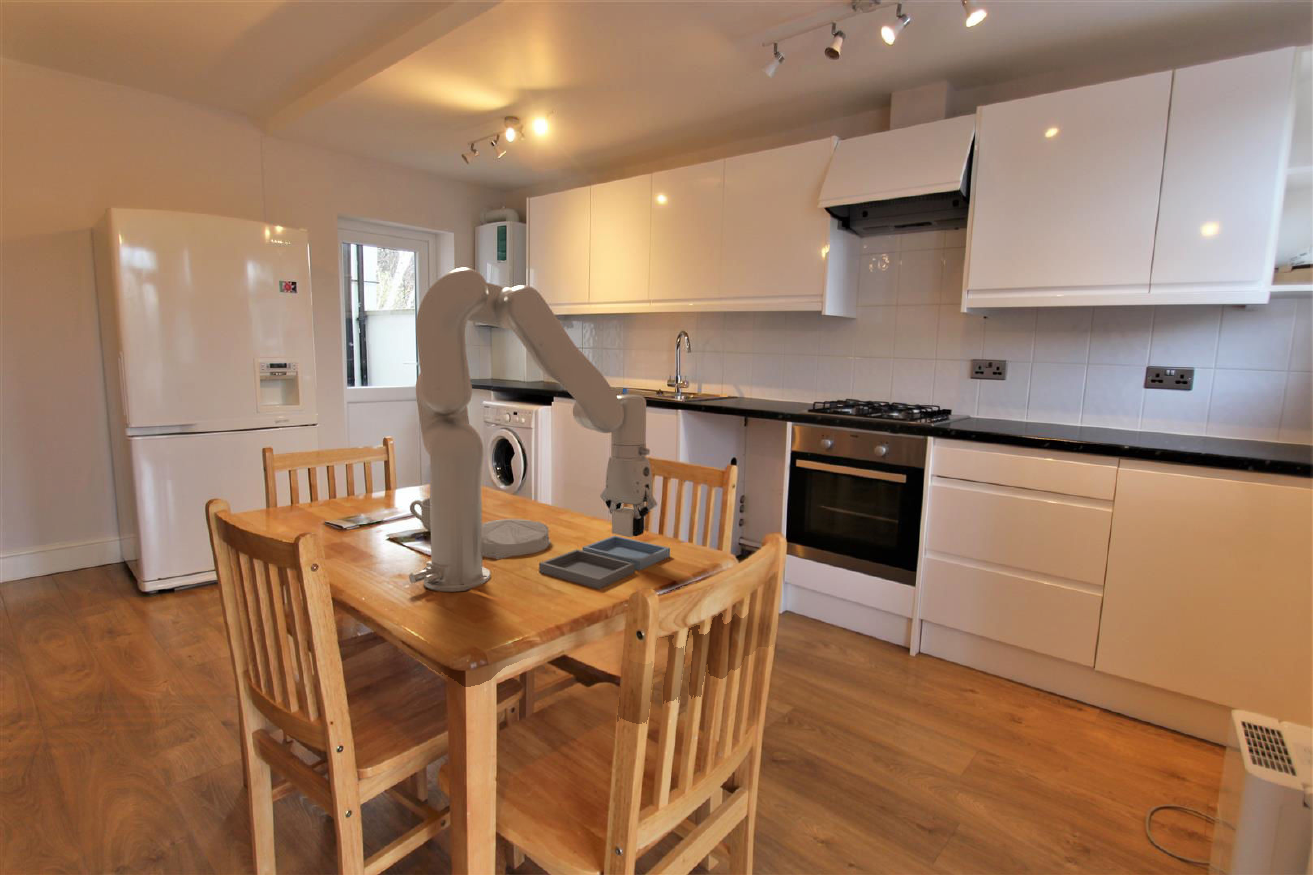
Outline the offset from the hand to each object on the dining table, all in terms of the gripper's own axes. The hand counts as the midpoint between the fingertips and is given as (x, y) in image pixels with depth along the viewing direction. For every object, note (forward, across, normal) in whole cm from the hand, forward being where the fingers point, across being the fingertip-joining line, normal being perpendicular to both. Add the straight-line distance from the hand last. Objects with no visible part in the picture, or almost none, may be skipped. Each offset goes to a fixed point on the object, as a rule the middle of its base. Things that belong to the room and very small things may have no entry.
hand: (627, 531), depth 140 cm
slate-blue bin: (+6, 0, 0) cm, 6 cm away
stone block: (0, 0, 0) cm, 0 cm away
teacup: (+6, +50, +12) cm, 52 cm away
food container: (+6, +27, +10) cm, 30 cm away
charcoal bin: (+6, 0, +14) cm, 15 cm away
